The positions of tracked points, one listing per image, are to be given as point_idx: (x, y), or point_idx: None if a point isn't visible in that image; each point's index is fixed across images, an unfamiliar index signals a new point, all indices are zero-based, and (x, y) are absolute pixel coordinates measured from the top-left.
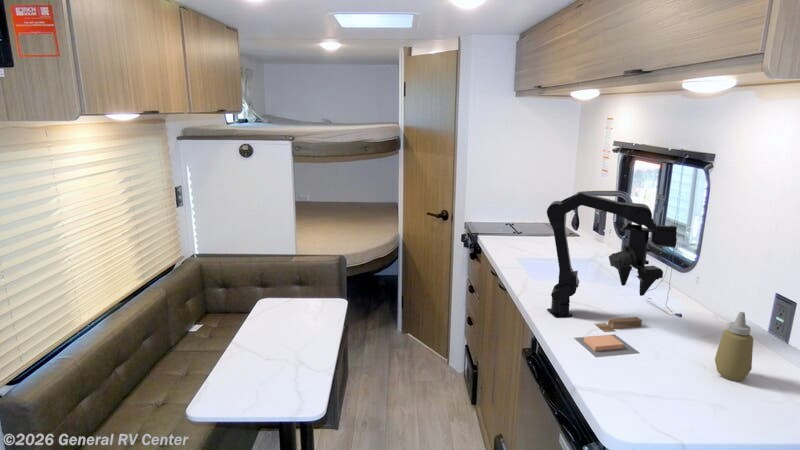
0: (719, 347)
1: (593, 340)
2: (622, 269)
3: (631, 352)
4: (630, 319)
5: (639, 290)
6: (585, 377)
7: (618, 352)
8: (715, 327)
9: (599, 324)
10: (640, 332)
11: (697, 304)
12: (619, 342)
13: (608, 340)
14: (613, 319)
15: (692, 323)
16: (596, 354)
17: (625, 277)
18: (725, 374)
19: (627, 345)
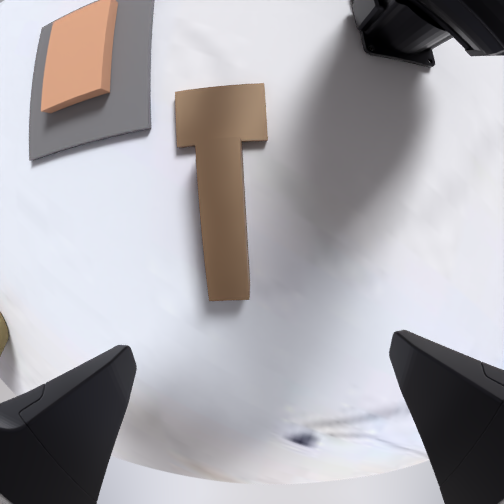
0: None
1: (83, 19)
2: (498, 438)
3: (34, 133)
4: (220, 251)
5: (104, 365)
6: (10, 11)
7: (40, 92)
8: (214, 461)
9: (252, 104)
10: (177, 259)
11: (343, 479)
12: (51, 100)
13: (69, 66)
14: (229, 158)
15: (242, 441)
16: (50, 30)
17: (426, 404)
18: None
19: (66, 138)
